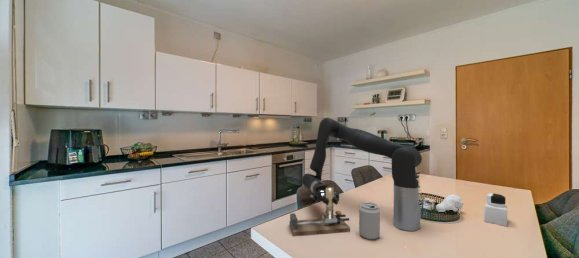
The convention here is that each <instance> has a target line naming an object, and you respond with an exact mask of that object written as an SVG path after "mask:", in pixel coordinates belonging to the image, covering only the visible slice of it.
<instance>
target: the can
mask: <svg viewBox="0 0 579 258" xmlns="http://www.w3.org/2000/svg"><path fill="white" fill-rule="evenodd" d="M380 211H381V209H380V208H379V205H378V204H376V203H373V202H367V201H366V202H362V203H361V204H360V206H359V209H358V213H359V214H358V220H359V222H358V233H359V234H360V235H361V237H362V238H364V239H367V240H371V241H372V240H377V239H378V238H379V237H380V233H381V231H380V229H381V228H380V227H381V226H380V225H381V223H380V222H381V216H380V215H381V212H380Z"/></svg>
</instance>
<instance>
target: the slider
mask: <svg viewBox="0 0 579 258" xmlns="http://www.w3.org/2000/svg"><path fill="white" fill-rule="evenodd" d="M334 191H335V189H334V187H332V186H328V187H326V198H327V199H328V205H326V204H325V214H321V216H322V217H321V219H323V221H324V222H325V223H336V222H337V221H344V222H349V221H350V217H347V215H346V214H343V213H342V214H341V215H340V218H342V219H337V218H336V214H334V213H335V211H334V206H335V204H334V193H335V192H334Z"/></svg>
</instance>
